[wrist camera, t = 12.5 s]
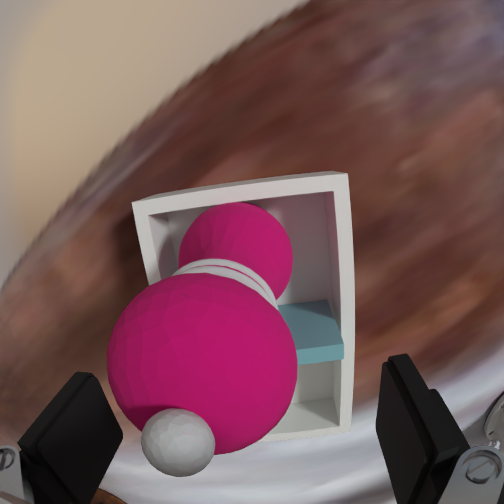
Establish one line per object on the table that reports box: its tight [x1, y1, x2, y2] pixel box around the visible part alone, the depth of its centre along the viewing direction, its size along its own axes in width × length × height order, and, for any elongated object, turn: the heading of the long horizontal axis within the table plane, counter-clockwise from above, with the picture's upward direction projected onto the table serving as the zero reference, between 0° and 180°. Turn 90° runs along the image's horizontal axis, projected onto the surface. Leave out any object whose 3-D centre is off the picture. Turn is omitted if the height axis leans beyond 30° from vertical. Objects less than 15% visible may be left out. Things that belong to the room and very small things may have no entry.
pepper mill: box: [107, 202, 298, 477], centre depth 15 cm, size 7×7×20 cm
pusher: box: [278, 300, 344, 365], centre depth 24 cm, size 5×11×7 cm, turn 98°
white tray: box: [132, 171, 355, 442], centre depth 25 cm, size 22×14×5 cm, turn 8°
